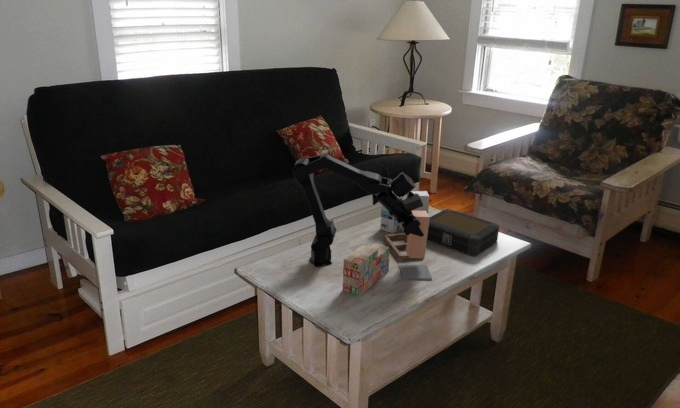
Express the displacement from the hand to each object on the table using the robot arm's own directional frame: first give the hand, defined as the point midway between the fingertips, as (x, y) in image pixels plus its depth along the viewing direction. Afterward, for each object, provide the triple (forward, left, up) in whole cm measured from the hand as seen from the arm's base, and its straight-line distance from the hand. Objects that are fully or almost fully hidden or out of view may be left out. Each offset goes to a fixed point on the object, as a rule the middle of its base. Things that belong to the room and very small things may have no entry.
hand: (420, 232), depth 200 cm
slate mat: (-4, -4, -13) cm, 14 cm away
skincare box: (+18, +31, -14) cm, 38 cm away
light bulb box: (+8, +33, -14) cm, 36 cm away
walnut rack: (+2, +14, -13) cm, 20 cm away
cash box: (+27, +13, -14) cm, 33 cm away
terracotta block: (-1, 0, -9) cm, 9 cm away
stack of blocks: (-22, -2, -14) cm, 26 cm away
